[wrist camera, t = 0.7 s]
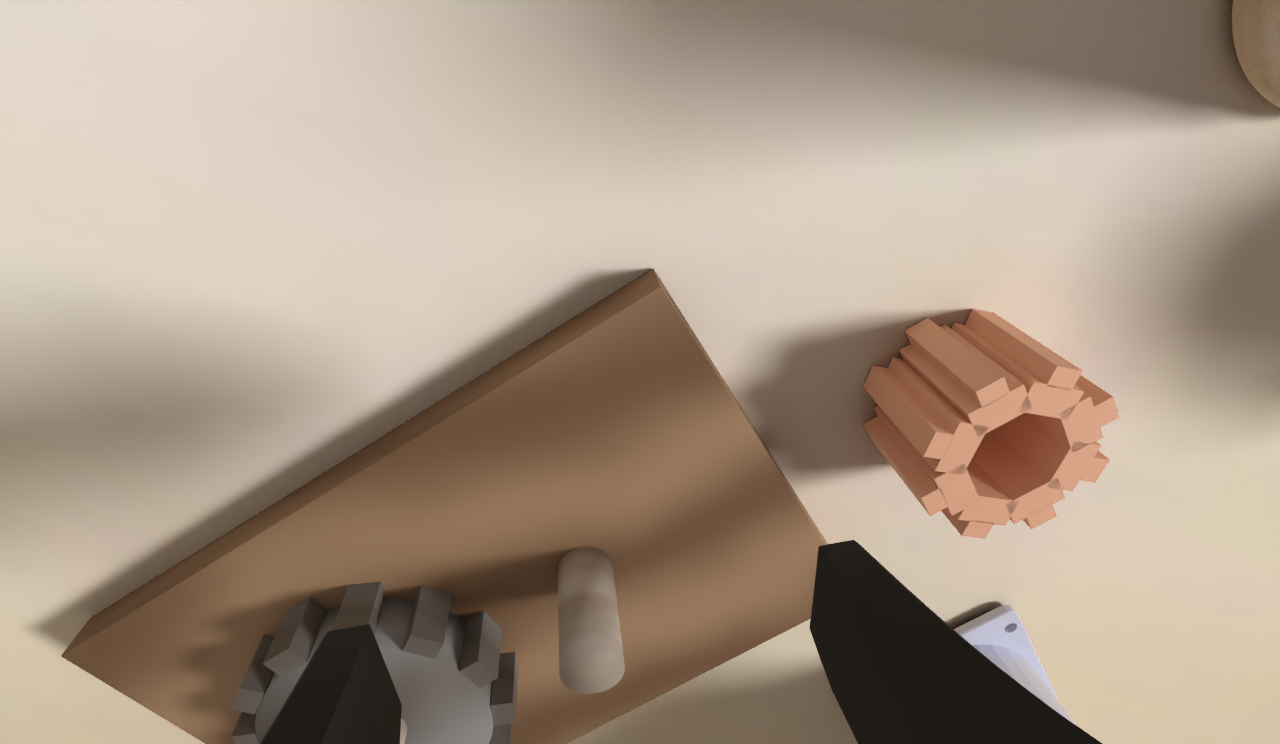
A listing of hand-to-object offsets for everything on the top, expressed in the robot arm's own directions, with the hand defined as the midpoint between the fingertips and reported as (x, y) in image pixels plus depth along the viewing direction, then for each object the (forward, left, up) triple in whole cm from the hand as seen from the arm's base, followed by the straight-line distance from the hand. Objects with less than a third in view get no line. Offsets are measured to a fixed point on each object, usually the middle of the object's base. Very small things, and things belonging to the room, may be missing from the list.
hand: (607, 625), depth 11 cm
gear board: (-6, +8, -10) cm, 14 cm away
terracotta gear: (-8, -9, -10) cm, 16 cm away
